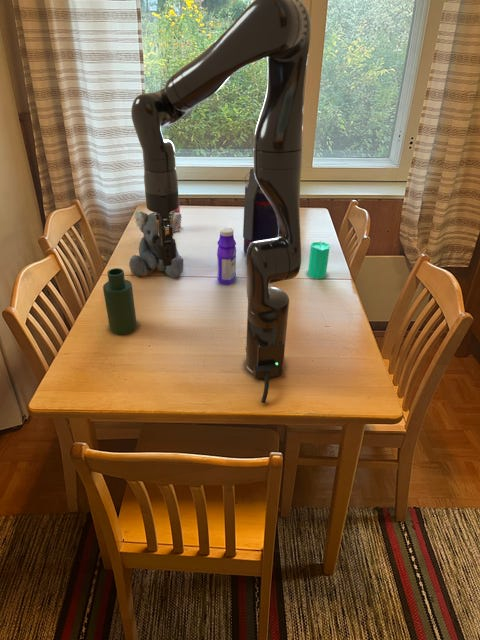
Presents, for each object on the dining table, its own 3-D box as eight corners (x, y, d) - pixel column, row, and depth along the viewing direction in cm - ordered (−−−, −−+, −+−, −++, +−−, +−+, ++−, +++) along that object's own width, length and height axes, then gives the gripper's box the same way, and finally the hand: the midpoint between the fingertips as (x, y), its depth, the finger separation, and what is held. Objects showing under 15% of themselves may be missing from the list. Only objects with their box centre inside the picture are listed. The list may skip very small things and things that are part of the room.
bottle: (232, 286, 148) (233, 235, 138) (215, 284, 149) (214, 233, 139) (237, 276, 154) (238, 225, 144) (220, 274, 155) (220, 223, 145)
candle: (305, 276, 155) (308, 242, 148) (311, 268, 159) (315, 235, 152) (322, 280, 152) (326, 246, 146) (328, 272, 157) (333, 239, 150)
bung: (178, 267, 117) (176, 244, 114) (158, 269, 116) (156, 246, 113) (175, 259, 121) (174, 236, 118) (156, 260, 120) (154, 238, 117)
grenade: (257, 243, 175) (260, 161, 158) (283, 253, 169) (290, 168, 152) (233, 256, 166) (234, 170, 149) (260, 266, 160) (264, 178, 143)
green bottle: (137, 333, 126) (130, 277, 117) (110, 336, 125) (100, 280, 115) (136, 318, 132) (129, 264, 123) (109, 321, 131) (100, 266, 121)
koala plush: (128, 278, 151) (121, 220, 140) (138, 254, 166) (132, 199, 155) (183, 279, 151) (180, 221, 140) (187, 254, 166) (185, 200, 155)
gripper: (142, 179, 113) (149, 245, 122) (147, 199, 102) (154, 270, 111) (174, 177, 115) (177, 242, 124) (182, 197, 103) (185, 267, 112)
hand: (166, 255), depth 117 cm, fingers closed on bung, 4 cm apart
